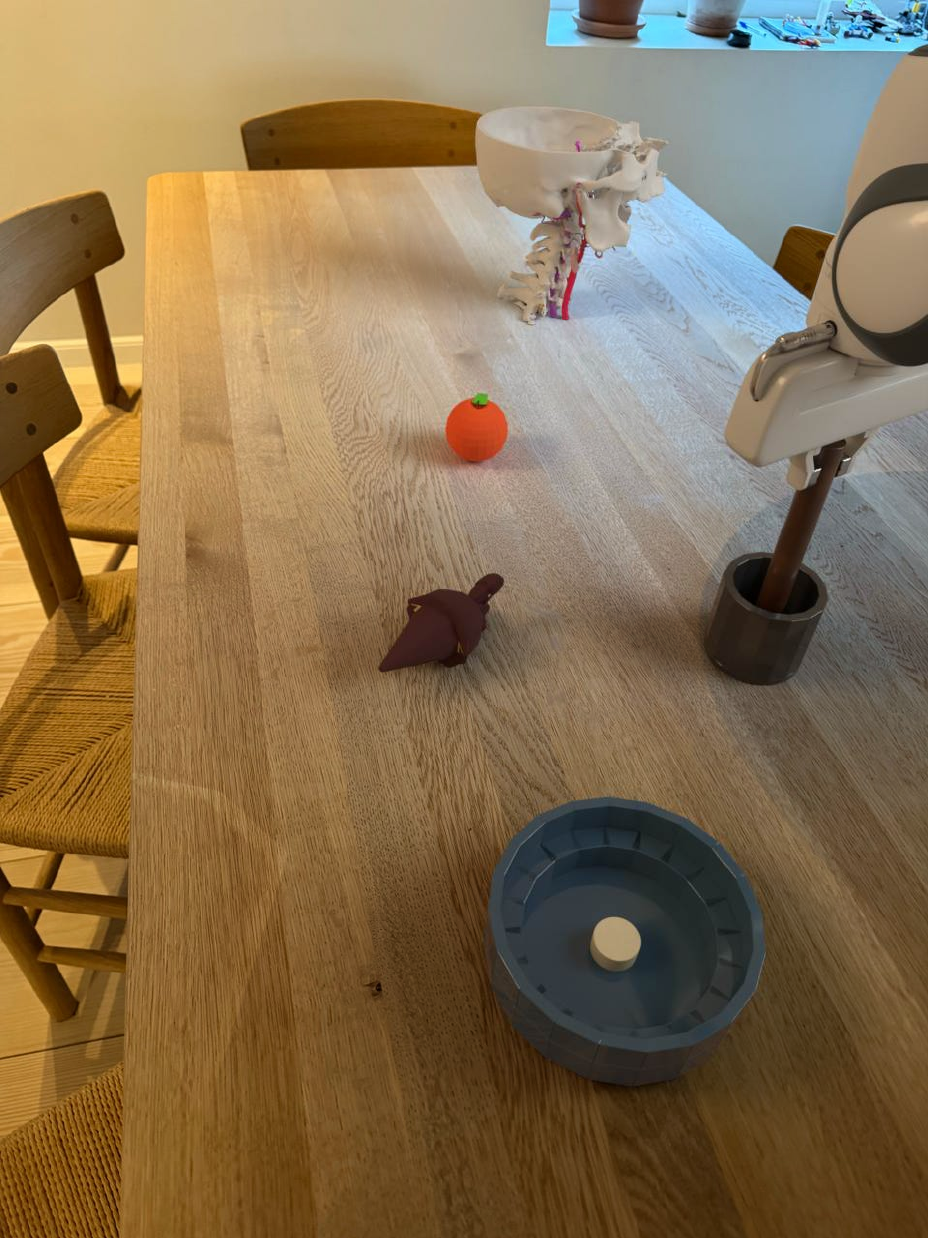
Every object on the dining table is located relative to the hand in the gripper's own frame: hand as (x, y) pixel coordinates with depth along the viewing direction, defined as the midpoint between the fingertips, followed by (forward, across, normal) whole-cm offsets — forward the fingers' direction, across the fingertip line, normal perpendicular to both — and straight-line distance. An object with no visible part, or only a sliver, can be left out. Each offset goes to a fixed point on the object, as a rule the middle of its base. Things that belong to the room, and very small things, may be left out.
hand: (817, 477), depth 74 cm
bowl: (+19, -29, -18) cm, 39 cm away
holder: (+19, 0, 0) cm, 19 cm away
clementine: (+19, -7, +39) cm, 44 cm away
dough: (+19, -29, -18) cm, 39 cm away
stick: (+16, 0, 0) cm, 16 cm away
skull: (+19, +22, +66) cm, 73 cm away
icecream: (+19, -26, +13) cm, 35 cm away
